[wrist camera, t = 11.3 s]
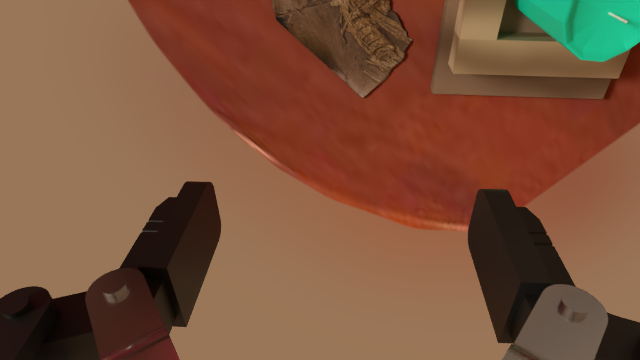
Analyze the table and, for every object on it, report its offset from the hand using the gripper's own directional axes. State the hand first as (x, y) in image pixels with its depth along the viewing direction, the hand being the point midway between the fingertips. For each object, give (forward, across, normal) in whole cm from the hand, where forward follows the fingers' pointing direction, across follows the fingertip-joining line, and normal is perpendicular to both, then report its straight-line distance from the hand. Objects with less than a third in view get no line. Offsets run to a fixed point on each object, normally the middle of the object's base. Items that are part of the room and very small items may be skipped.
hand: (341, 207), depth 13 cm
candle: (+29, -16, -1) cm, 33 cm away
